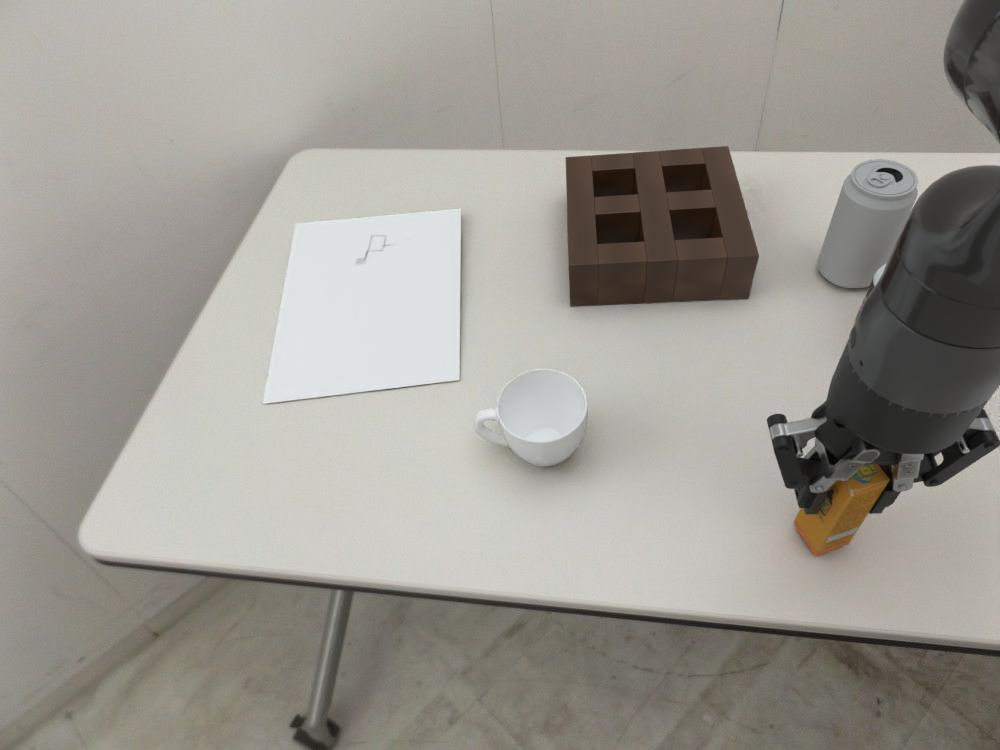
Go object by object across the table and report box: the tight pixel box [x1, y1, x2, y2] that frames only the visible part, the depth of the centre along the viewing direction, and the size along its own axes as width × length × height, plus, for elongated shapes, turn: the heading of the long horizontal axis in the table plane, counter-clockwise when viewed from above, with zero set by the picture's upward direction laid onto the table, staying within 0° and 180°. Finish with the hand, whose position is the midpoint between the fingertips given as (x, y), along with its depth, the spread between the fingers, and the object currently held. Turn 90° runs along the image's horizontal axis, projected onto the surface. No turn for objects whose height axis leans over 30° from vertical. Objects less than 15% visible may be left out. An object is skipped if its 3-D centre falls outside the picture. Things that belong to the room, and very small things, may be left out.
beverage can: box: [816, 158, 919, 289], centre depth 68 cm, size 6×6×12 cm
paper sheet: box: [262, 208, 462, 405], centre depth 78 cm, size 24×29×1 cm
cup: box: [473, 368, 589, 467], centre depth 61 cm, size 8×10×7 cm
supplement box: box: [793, 464, 890, 557], centre depth 51 cm, size 3×3×10 cm
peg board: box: [565, 145, 760, 307], centre depth 76 cm, size 19×19×6 cm
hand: (839, 502), depth 51 cm, fingers closed on supplement box, 4 cm apart
